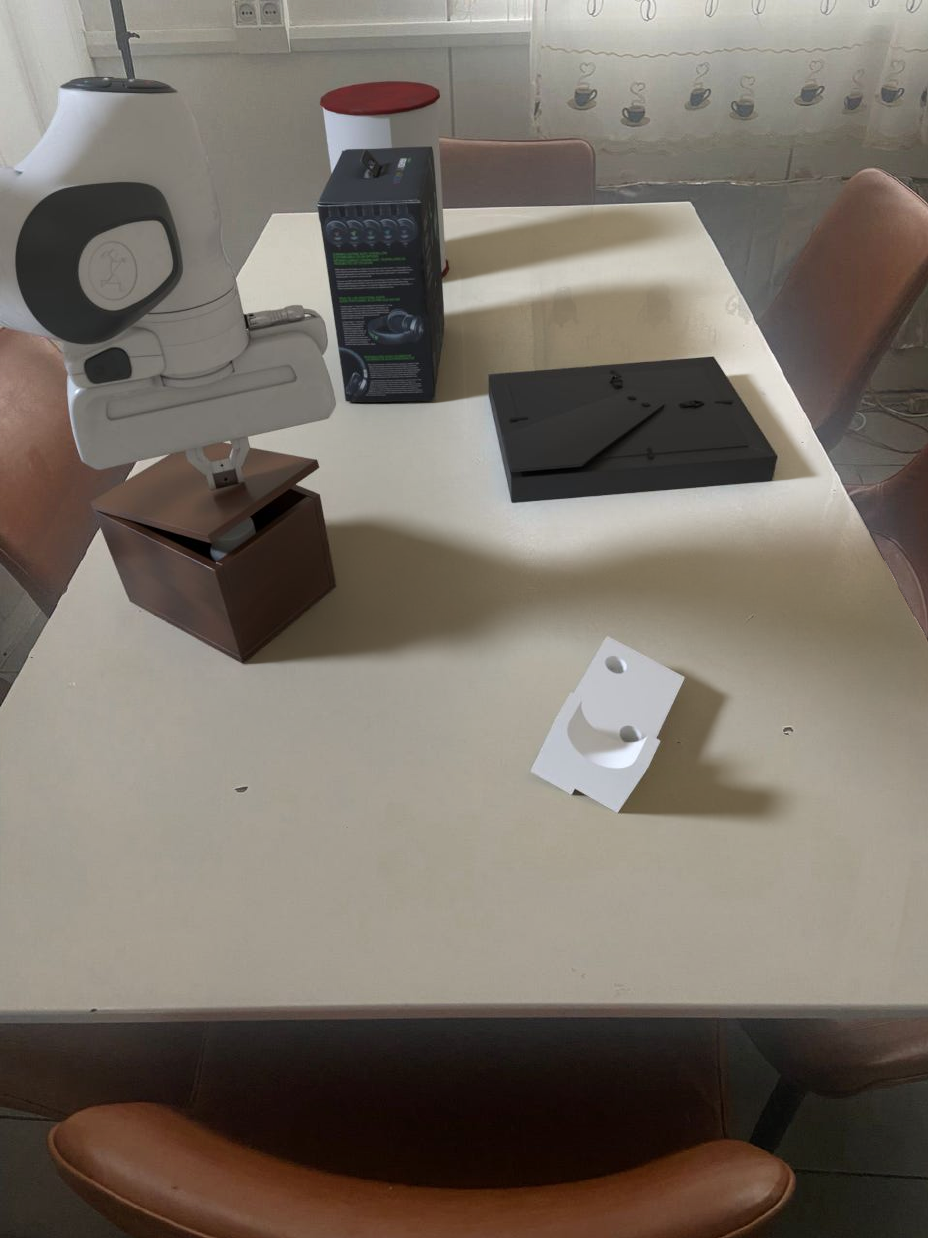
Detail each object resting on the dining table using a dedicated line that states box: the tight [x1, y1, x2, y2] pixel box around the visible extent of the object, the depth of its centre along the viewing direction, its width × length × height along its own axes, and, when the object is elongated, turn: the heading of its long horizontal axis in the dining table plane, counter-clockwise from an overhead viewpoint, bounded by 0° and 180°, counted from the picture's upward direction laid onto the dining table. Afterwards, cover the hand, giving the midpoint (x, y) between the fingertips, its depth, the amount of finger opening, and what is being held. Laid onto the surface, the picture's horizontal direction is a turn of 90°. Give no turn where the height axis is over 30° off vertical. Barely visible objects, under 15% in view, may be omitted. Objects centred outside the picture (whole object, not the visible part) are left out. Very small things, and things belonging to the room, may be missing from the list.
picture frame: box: [487, 356, 779, 503], centre depth 103 cm, size 23×4×28 cm
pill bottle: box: [210, 517, 256, 562], centre depth 81 cm, size 5×5×8 cm
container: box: [319, 80, 450, 278], centre depth 136 cm, size 17×17×25 cm
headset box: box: [316, 146, 445, 403], centre depth 111 cm, size 22×12×26 cm, turn 178°
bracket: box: [530, 635, 686, 814], centre depth 68 cm, size 13×7×8 cm, turn 152°
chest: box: [93, 484, 337, 664], centre depth 82 cm, size 16×13×11 cm
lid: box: [90, 442, 320, 543], centre depth 77 cm, size 16×13×1 cm
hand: (226, 483), depth 75 cm, fingers closed
